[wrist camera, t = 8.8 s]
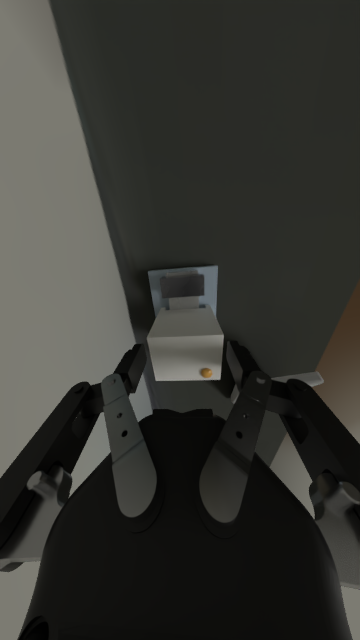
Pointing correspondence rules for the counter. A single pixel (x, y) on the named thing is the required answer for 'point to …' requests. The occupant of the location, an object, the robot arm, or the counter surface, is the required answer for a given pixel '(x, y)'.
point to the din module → (186, 345)
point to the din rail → (183, 300)
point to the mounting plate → (208, 271)
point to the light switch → (308, 378)
